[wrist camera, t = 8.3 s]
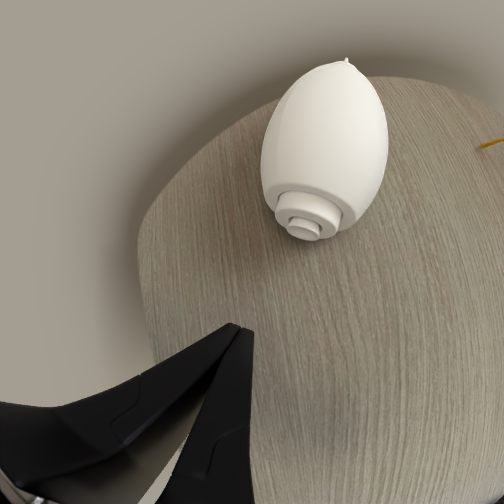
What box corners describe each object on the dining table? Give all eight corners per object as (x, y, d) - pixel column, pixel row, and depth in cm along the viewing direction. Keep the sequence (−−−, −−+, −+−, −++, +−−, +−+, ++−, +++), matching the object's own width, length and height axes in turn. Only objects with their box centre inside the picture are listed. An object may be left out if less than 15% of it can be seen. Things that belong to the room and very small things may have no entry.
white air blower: (224, 176, 11) (308, 13, 15) (239, 234, 19) (301, 76, 23) (400, 233, 10) (399, 41, 14) (348, 269, 18) (375, 99, 22)
